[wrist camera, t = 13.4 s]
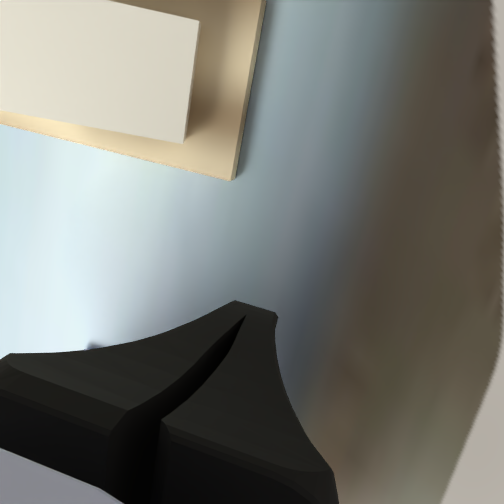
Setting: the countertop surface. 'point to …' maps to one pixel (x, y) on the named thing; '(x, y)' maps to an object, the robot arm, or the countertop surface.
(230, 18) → the oak strip
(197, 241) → the countertop surface
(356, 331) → the countertop surface
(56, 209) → the countertop surface
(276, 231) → the countertop surface
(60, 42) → the domino
